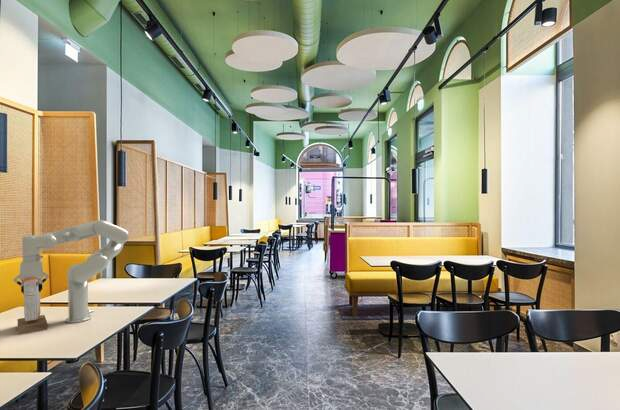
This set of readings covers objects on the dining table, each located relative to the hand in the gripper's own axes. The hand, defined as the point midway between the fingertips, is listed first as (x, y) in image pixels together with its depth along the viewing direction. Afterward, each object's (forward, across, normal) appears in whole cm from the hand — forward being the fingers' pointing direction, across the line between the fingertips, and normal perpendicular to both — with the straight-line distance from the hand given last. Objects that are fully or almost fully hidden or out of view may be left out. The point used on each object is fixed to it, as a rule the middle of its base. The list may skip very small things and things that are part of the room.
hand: (31, 292), depth 207 cm
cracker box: (+14, 0, 0) cm, 14 cm away
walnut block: (+19, 0, 0) cm, 19 cm away
